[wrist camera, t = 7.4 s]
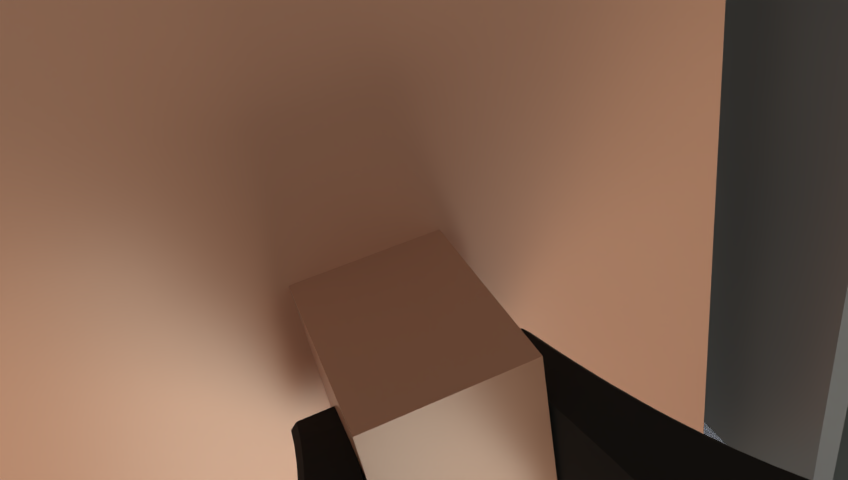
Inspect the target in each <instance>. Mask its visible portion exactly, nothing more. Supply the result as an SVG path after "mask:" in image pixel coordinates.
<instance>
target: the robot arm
mask: <svg viewBox="0 0 848 480" xmlns="http://www.w3.org/2000/svg"><path fill="white" fill-rule="evenodd" d="M521 330H522V331H523V333H524V334H525V335H526V336H527V338H528V339H529V340H530V341H531V342H532V344H533V345H534V346H535V347H536V349H537V350H538V351H539V352H540V353H541V355H542V356H543V363H544V372H545V380H546V389H547V397H548V406H549V414H550V423H551V431H552V440H553V449H554V457H555V466H556V474H557V480H809V479H807V478H804V477H802V476H799V475H797V474H794V473H792V472H789V471H786V470H784V469H781V468H779V467H776V466H774V465H771V464H769V463H767V462H764V461H762V460H760V459H757V458H755V457H753V456H750V455H748V454H746V453H743V452H741V451H739V450H737V449H734V448H732V447H730V446H728V445H726V444H723V443H721V442H719V441H717V440H715V439H713V438H711V437H709V436H707V435H705V434H703V433H701V432H699V431H697V430H695V429H693V428H691V427H689V426H687V425H685V424H683V423H681V422H679V421H677V420H675V419H673V418H671V417H669V416H667V415H665V414H664V413H662V412H660V411H658V410H656V409H654V408H652V407H651V406H649V405H647V404H645V403H644V402H642V401H640V400H638V399H637V398H635V397H633V396H631V395H630V394H628V393H626V392H624V391H623V390H621V389H619V388H617V387H616V386H614V385H612V384H610V383H609V382H607V381H605V380H604V379H602V378H600V377H599V376H597V375H596V374H594V373H592V372H591V371H589V370H588V369H586V368H584V367H583V366H581V365H579V364H578V363H576V362H575V361H573V360H572V359H570V358H568V357H567V356H565V355H564V354H562V353H561V352H559V351H558V350H556V349H555V348H553V347H551V346H550V345H548V344H547V343H545V342H544V341H542V340H541V339H539V338H538V337H536V336H535V335H533V334H532V333H530V332H529V331H527V330H524V329H522V328H521ZM291 433H292V437H293V441H294V447H295V455H296V463H297V476H298V480H365V479H364V477H363V474H362V471H361V468H360V465H359V462H358V459H357V456H356V454H355V452H354V449H353V447H352V445H351V442H350V440H349V438H348V435H347V433H346V431H345V429H344V426H343V424H342V422H341V420H340V417H339V415H338V413H337V411H336V408H335V406H333V407H331V408H328V409H326V410H323V411H321V412H319V413H316V414H314V415H311V416H309V417H306V418H304V419H302V420H299V421H297V422H296V423H295V425H294V426H293V428H292V429H291Z"/></svg>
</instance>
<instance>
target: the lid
mask: <svg viewBox="0 0 848 480" xmlns="http://www.w3.org/2000/svg"><path fill="white" fill-rule="evenodd" d="M725 3H726V0H0V480H298V476H297V463H296V455H295V447H294V441H293V437H292V433H291V429H292V428H293V426H294V425H295V423H296V422H297V421H299V420H302V419H304V418H306V417H309V416H311V415H314V414H316V413H319V412H321V411H323V410H326V409H328V408H331V407H333V406H335V408H336V411H337V413H338V415H339V417H340V420H341V422H342V424H343V426H344V429H345V431H346V433H347V435H348V438H349V440H350V442H351V445H352V447H353V449H354V452H355V454H356V456H357V459H358V462H359V465H360V468H361V471H362V474H363V477H364V479H365V480H557V474H556V466H555V457H554V449H553V440H552V431H551V423H550V414H549V406H548V397H547V389H546V380H545V372H544V363H543V356H542V355H541V353H540V352H539V351H538V350H537V349H536V347H535V346H534V345H533V344H532V342H531V341H530V340H529V339H528V338H527V336H526V335H525V334H524V333H523V331H522V330H521V328H522V329H524V330H527V331H529V332H530V333H532V334H533V335H535V336H536V337H538V338H539V339H541V340H542V341H544V342H545V343H547V344H548V345H550V346H551V347H553V348H555V349H556V350H558V351H559V352H561V353H562V354H564V355H565V356H567V357H568V358H570V359H572V360H573V361H575V362H576V363H578V364H579V365H581V366H583V367H584V368H586V369H588V370H589V371H591V372H592V373H594V374H596V375H597V376H599V377H600V378H602V379H604V380H605V381H607V382H609V383H610V384H612V385H614V386H616V387H617V388H619V389H621V390H623V391H624V392H626V393H628V394H630V395H631V396H633V397H635V398H637V399H638V400H640V401H642V402H644V403H645V404H647V405H649V406H651V407H652V408H654V409H656V410H658V411H660V412H662V413H664V414H665V415H667V416H669V417H671V418H673V419H675V420H677V421H679V422H681V423H683V424H685V425H687V426H689V427H691V428H693V429H695V430H697V431H699V432H701V433H703V429H704V409H705V390H706V371H707V351H708V332H709V313H710V293H711V274H712V254H713V235H714V216H715V196H716V177H717V158H718V138H719V119H720V99H721V80H722V61H723V41H724V22H725Z"/></svg>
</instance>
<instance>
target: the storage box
mask: <svg viewBox="0 0 848 480" xmlns="http://www.w3.org/2000/svg"><path fill="white" fill-rule="evenodd" d="M704 422H705V423H706V424H707V425H708V426H709V427H710V428H711V429H712V430H713V431H714V432H715V433H716V434H717V435H718V436H719V437H720V438H721V439H722V440H723V441H724V442H725V443H726V444H727V445H728V446H730V447H732V448H734V449H737V450H739V451H741V452H743V453H746V454H748V455H750V456H753V457H755V458H757V459H760V460H762V461H764V462H767V463H769V464H771V465H774V466H776V467H779V468H781V469H784V470H786V471H789V472H792V473H794V474H797V475H799V476H802V477H804V478H807V479H809V480H848V0H726V3H725V22H724V41H723V61H722V80H721V99H720V119H719V138H718V158H717V177H716V196H715V216H714V235H713V254H712V274H711V293H710V313H709V332H708V351H707V371H706V390H705V409H704Z"/></svg>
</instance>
